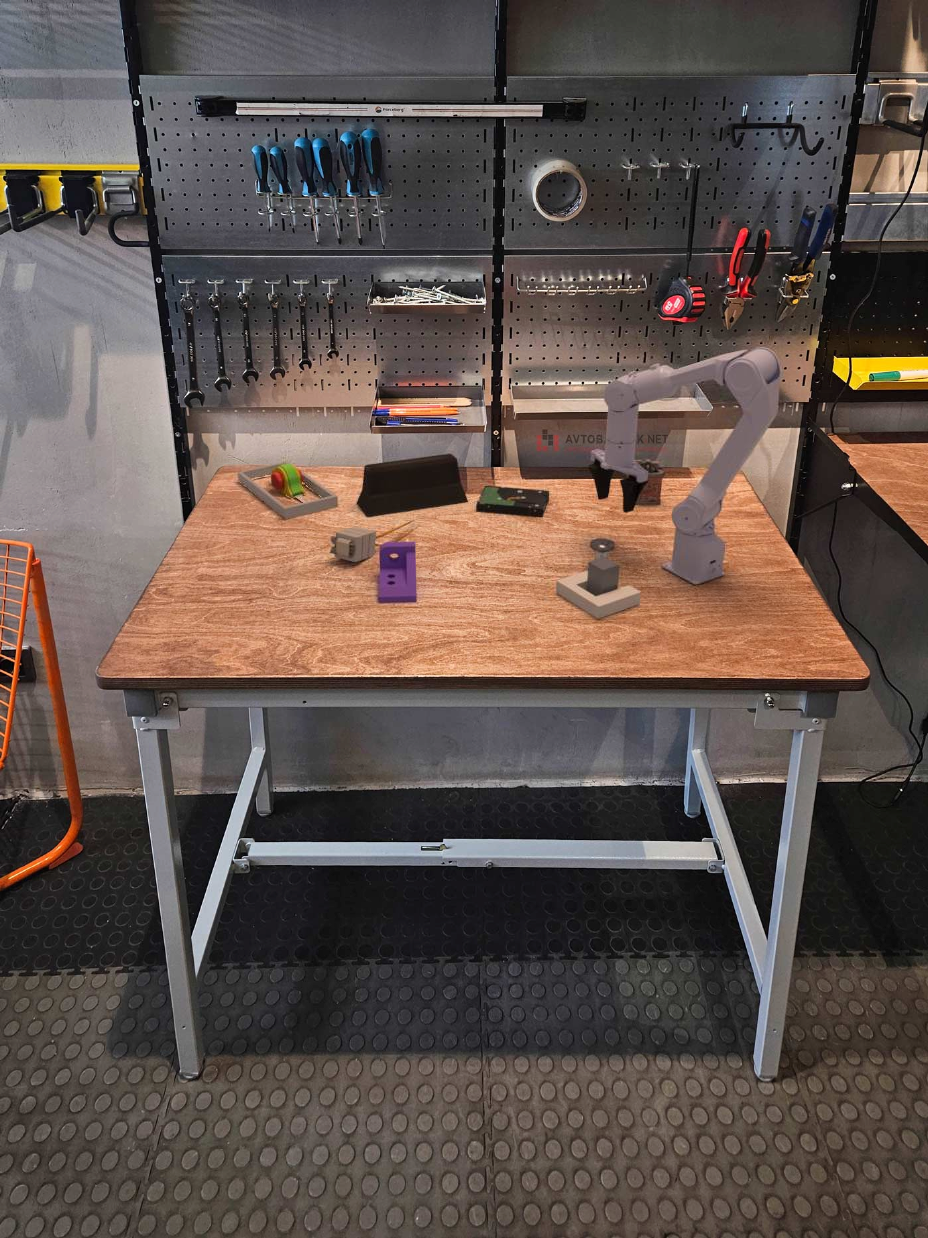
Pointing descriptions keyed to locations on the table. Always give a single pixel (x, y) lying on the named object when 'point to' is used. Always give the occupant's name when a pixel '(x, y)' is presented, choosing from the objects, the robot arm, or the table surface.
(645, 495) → the lighter
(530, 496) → the disk drive
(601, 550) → the bobbin post
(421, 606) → the table surface
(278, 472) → the toy measuring tape
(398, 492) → the barrier
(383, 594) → the bracket
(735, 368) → the robot arm
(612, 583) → the tab block
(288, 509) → the rectangular frame
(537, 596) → the table surface
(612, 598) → the notched board
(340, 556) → the electrical component
